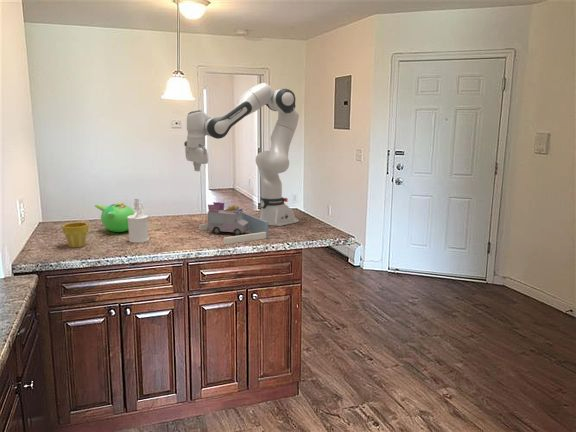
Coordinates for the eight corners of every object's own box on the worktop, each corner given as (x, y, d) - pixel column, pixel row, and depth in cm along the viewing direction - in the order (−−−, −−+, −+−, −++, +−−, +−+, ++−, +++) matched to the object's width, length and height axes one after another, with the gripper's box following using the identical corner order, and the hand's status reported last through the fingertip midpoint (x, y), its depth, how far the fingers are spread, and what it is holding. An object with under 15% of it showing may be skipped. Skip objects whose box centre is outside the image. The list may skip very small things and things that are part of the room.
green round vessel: (142, 231, 239) (141, 203, 236) (111, 237, 227) (109, 207, 224) (125, 225, 251) (123, 198, 248) (93, 231, 239) (91, 202, 236)
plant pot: (69, 242, 218) (67, 221, 216) (92, 242, 219) (90, 221, 217) (60, 249, 208) (58, 227, 206) (85, 248, 209) (83, 227, 207)
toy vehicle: (243, 237, 231) (242, 207, 228) (206, 233, 237) (205, 204, 233) (249, 232, 240) (249, 203, 237) (214, 229, 245) (213, 201, 242)
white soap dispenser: (132, 237, 228) (130, 196, 224) (151, 237, 228) (149, 196, 223) (124, 243, 218) (121, 200, 213) (144, 243, 217) (142, 201, 213)
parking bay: (239, 225, 255) (239, 210, 253) (268, 238, 230) (268, 222, 228) (199, 230, 243) (198, 215, 241) (224, 244, 218) (224, 227, 216)
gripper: (210, 144, 231) (211, 173, 234) (194, 142, 248) (195, 168, 251) (198, 145, 228) (199, 173, 231) (182, 142, 244) (183, 169, 247)
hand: (197, 171), depth 241 cm, fingers closed
